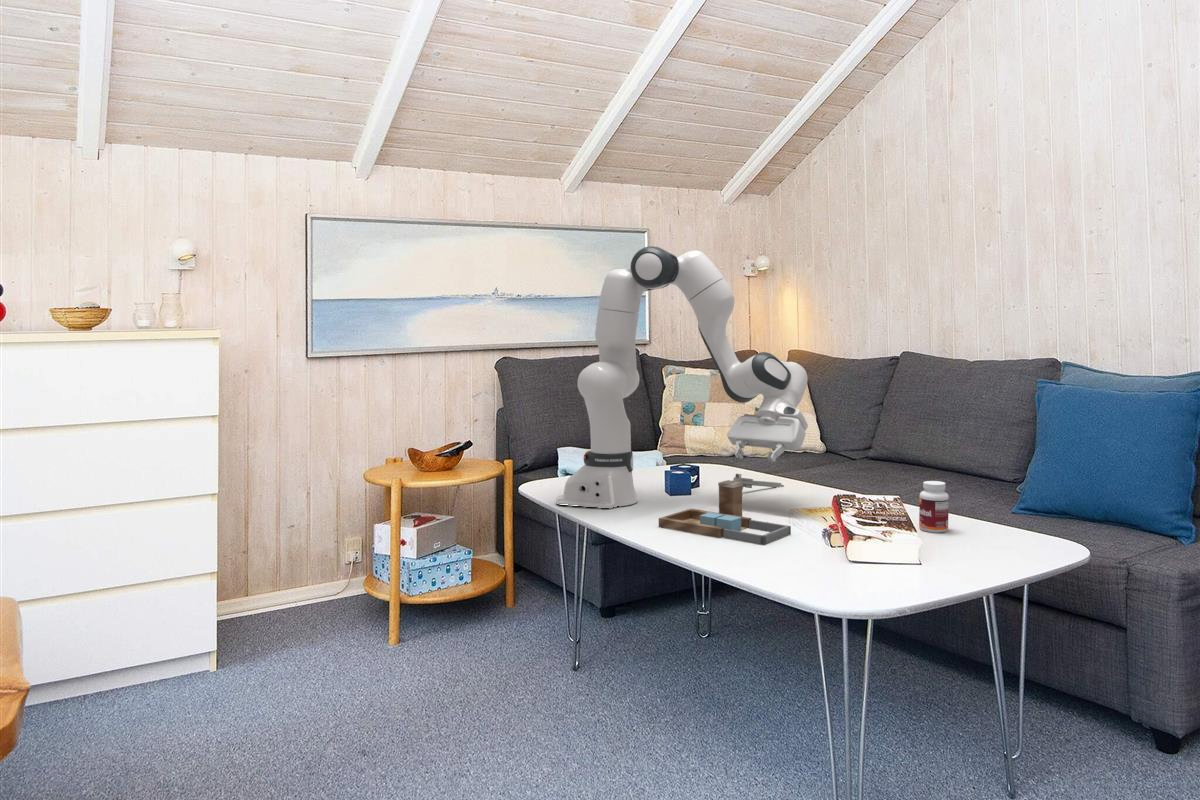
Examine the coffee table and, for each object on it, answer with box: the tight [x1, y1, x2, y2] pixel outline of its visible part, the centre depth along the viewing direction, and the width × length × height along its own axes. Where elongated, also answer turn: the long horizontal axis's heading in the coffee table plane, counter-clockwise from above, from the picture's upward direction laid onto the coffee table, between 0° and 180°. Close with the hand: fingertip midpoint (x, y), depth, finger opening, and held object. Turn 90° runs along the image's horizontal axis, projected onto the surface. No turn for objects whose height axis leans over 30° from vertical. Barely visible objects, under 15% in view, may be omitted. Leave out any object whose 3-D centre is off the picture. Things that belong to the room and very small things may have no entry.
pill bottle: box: [918, 480, 950, 534], centre depth 181 cm, size 6×6×11 cm
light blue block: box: [716, 515, 742, 532], centre depth 180 cm, size 4×4×3 cm
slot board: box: [658, 508, 752, 539], centre depth 184 cm, size 17×13×3 cm
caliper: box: [732, 473, 785, 491], centre depth 231 cm, size 20×1×6 cm, turn 125°
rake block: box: [717, 479, 743, 517], centre depth 192 cm, size 4×4×10 cm
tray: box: [722, 519, 792, 546], centre depth 175 cm, size 10×12×3 cm
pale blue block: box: [700, 511, 724, 526], centre depth 183 cm, size 4×4×3 cm
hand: (754, 458), depth 199 cm, fingers open, 8 cm apart
